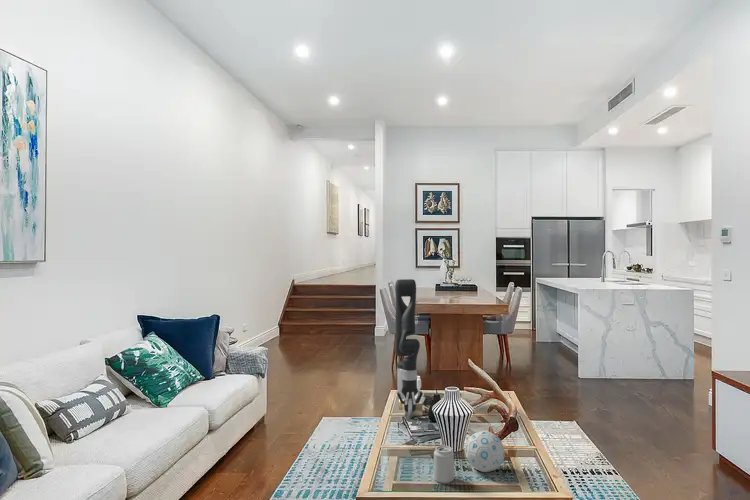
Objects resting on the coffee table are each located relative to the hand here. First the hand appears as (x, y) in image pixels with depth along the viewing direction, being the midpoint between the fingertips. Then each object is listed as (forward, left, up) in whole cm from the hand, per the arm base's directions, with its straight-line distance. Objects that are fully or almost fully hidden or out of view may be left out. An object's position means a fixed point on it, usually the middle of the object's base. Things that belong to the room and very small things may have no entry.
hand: (409, 411), depth 266 cm
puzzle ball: (+64, +19, -3) cm, 67 cm away
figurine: (-23, +9, -3) cm, 25 cm away
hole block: (-7, +3, -3) cm, 8 cm away
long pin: (0, 0, -3) cm, 3 cm away
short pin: (-14, -2, -3) cm, 14 cm away
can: (+70, +1, -3) cm, 70 cm away
